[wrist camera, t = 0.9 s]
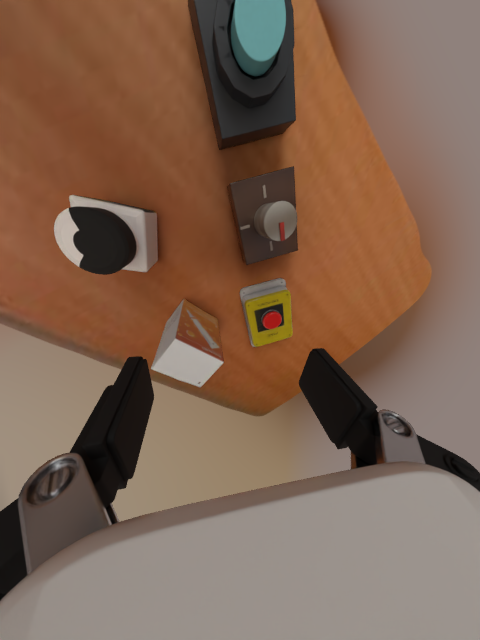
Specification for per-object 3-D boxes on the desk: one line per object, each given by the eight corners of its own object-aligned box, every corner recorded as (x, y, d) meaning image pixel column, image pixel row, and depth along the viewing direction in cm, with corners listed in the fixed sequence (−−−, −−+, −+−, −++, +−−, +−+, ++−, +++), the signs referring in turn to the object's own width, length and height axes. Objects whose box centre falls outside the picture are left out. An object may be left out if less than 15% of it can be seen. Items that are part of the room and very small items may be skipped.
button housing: (187, 4, 18) (182, -79, 13) (272, -14, 18) (300, -103, 13) (219, 150, 24) (224, 132, 19) (282, 133, 24) (304, 111, 19)
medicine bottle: (157, 211, 26) (129, 209, 16) (158, 261, 29) (135, 286, 19) (100, 199, 24) (26, 187, 14) (108, 253, 27) (53, 276, 17)
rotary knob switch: (226, 186, 26) (229, 183, 23) (285, 170, 26) (294, 165, 24) (242, 261, 32) (246, 265, 29) (290, 247, 32) (298, 250, 29)
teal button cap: (225, 1, 15) (228, -27, 13) (274, -10, 15) (283, -39, 13) (237, 81, 17) (241, 66, 16) (279, 71, 17) (288, 55, 16)
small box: (218, 318, 37) (225, 362, 26) (200, 339, 38) (200, 389, 27) (183, 297, 33) (174, 338, 22) (165, 321, 35) (149, 370, 24)
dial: (251, 207, 25) (262, 206, 21) (280, 199, 25) (297, 196, 21) (256, 240, 27) (267, 245, 23) (283, 232, 28) (299, 236, 23)
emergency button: (294, 284, 31) (296, 347, 39) (284, 276, 35) (288, 335, 43) (243, 297, 31) (256, 359, 38) (238, 288, 34) (251, 346, 42)
